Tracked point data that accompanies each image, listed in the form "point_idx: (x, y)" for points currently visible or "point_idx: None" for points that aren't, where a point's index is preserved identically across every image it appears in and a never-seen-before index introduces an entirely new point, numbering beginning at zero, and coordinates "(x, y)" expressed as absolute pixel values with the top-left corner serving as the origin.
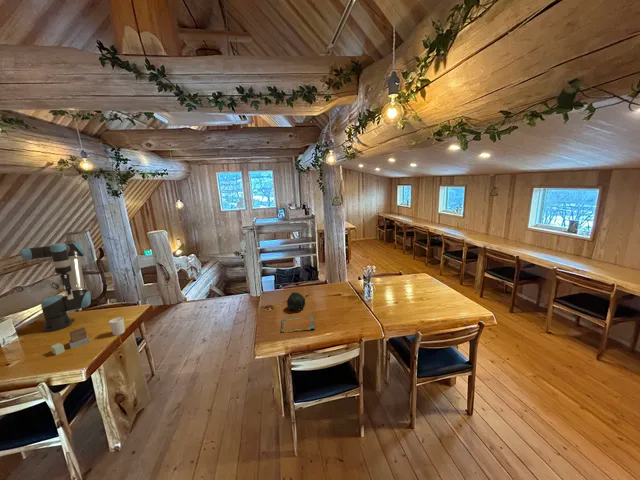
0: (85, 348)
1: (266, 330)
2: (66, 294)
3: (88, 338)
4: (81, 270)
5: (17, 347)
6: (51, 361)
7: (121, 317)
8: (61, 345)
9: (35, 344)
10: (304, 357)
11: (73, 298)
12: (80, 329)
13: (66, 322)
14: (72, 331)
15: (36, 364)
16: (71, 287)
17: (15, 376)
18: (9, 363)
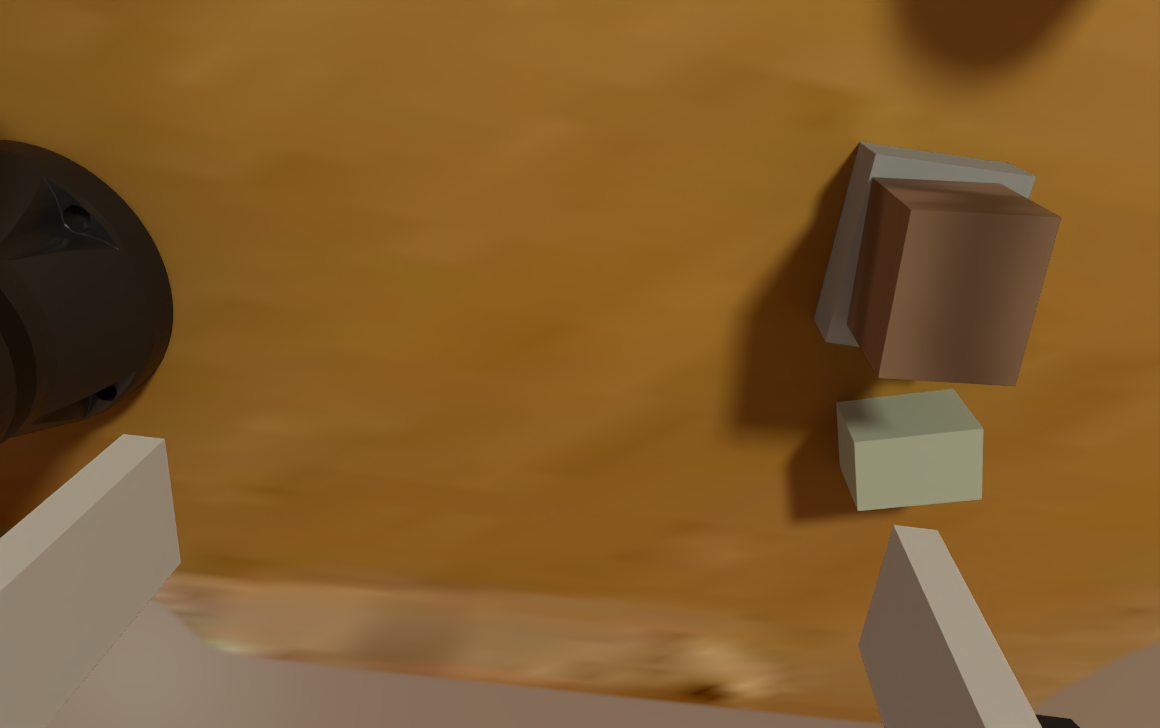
0: (1137, 238)
1: None
2: (172, 554)
3: (1035, 177)
4: None
5: (352, 609)
6: (1059, 505)
7: None
8: (967, 442)
9: (428, 515)
10: None
11: (935, 534)
12: (965, 262)
13: (64, 221)
14: (917, 349)
15: (970, 584)
16: None
17: (1030, 697)
18: (692, 686)
